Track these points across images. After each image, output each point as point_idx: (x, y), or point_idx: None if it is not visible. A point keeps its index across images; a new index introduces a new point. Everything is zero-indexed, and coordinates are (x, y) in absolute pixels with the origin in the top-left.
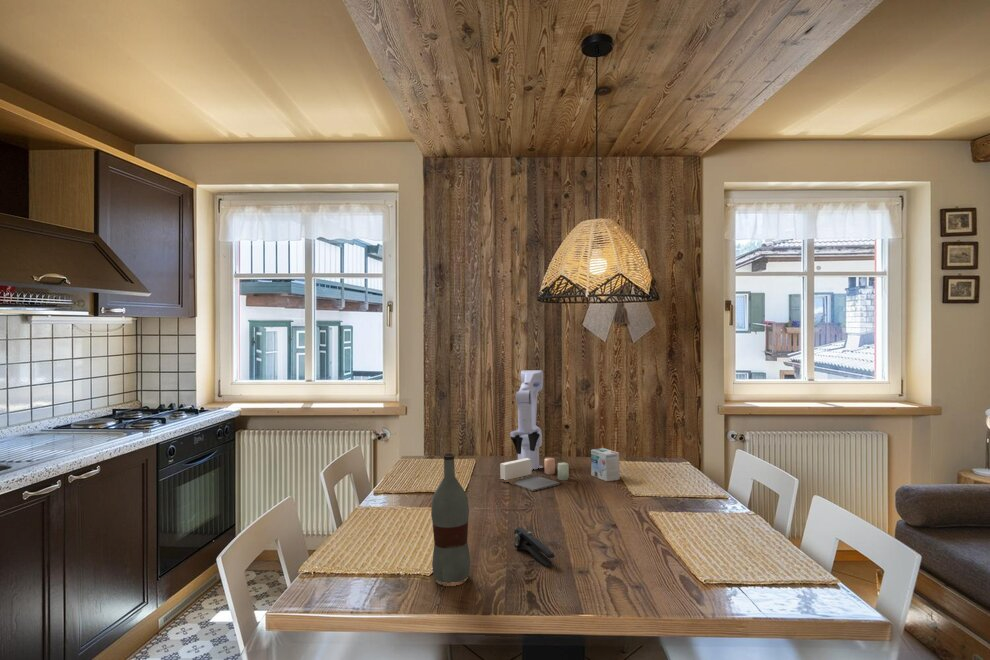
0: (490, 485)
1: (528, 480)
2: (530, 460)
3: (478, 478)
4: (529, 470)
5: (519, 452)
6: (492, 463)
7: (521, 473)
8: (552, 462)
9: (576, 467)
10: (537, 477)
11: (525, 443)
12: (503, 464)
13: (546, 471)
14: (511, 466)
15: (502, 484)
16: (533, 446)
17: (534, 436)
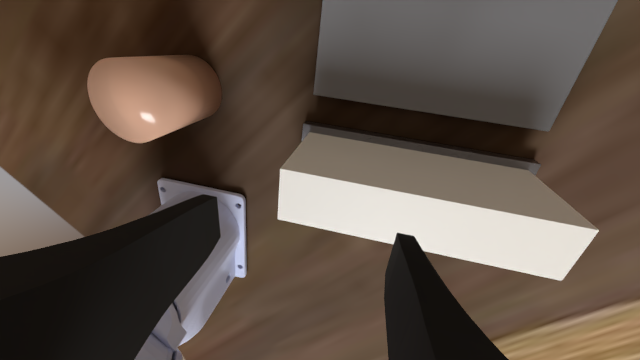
0: (628, 196)
1: (446, 45)
2: (289, 166)
3: (510, 306)
4: (319, 142)
5: (420, 249)
6: (279, 354)
7: (390, 152)
8: (139, 59)
9: (14, 43)
10: (342, 49)
11: (145, 345)
12: (583, 247)
13: (212, 90)
14: (502, 199)
15: (571, 154)
16: (183, 225)
17: (26, 332)
